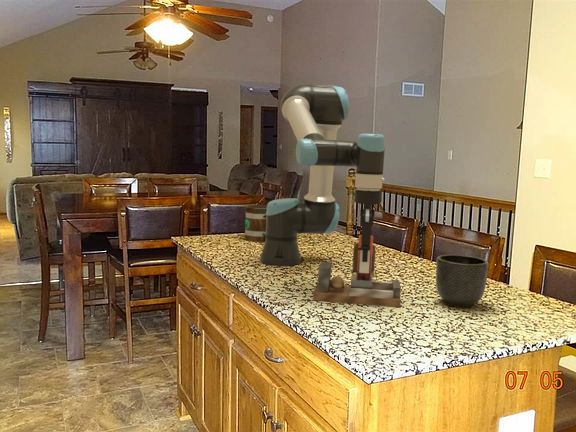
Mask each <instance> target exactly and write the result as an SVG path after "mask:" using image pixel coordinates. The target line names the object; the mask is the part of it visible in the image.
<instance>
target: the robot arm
mask: <svg viewBox="0 0 576 432" xmlns="http://www.w3.org/2000/svg"><path fill="white" fill-rule="evenodd" d="M280 111H281V114H282V116H283V118H284V119H285V120H286V121H287V122H289V125H290V127H291V129H292V131H293V134H294V136H295V138H296V140H297V142H296V146H295V157H296V158H295V159H296V162H297V163H298V164H299V165H303V166H310V170H309V180H308V192H307V194H305V195H304V196H303V202H301V201H300V200H299V199H298V198H296V197H293V198H291V197H290V198H289V197H287V198H279V199H278V198H277V199H273V200H270V201H269V202H268V203H267V204H266V206H267V211H266V241H265V242H264V243H263V247H262V251H261V253H260V255H259V257H260V259H259V261H260V262H261V263H263V264H266V265H272V266H296V265H298V264H301V262H302V256H301V254H300V248H299V245H298V234H299V235H300V234H302V235H303V234H304V235H305V234H307V235H311V234H317V235H318V234H319V235H323V234H331V233H333V232H335V230H336V229H337V227H338V224H339V221H340V206H339V204H338V203H337V202H336V198H335V197H334V196H333V195H332V193H333V182H334V169H335V168H334V167H353V168H354V167H355V168H356V169H355V182H354V188H356V189H355V190H354V202H355V203H356V204H360V205H361V204H362V205H363V208H360V211H359V212H360V213H359V215H360V226H361V235H362V241H361V248H358V250H360V267H359V273H369V262H370V248H371V247H370V239H371V236H372V226H374V217H375V209H372V208H373V205H380V204H382V196H383V192H382V190H381V189H382V188H383V182H385V181H386V178H384V177H383V175H384V165H385V150H386V143H385V142H386V138H385V136H384V135H383V134H382V133H381V134H380V133H379V134H378V133H361V134H358V136H357V140H337V135H338V130H339V128H341V126H343V121H346V120H347V119H348V117H349V112H350V101H349V96H348V94H347V91H346V89H344V88H343V87H342V86H337V85H322V84H307V83H301V84H297V85H295V86H291V88H289V89H288V90H287V91H286V92H285V93H284V95H283V97H282V98H281V101H280Z"/></svg>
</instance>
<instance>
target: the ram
mask: <svg viewBox="0 0 576 432" xmlns="http://www.w3.org/2000/svg"><path fill="white" fill-rule="evenodd" d="M358 235H359V236H358V244H359V246H358V248H361V241H362V234H358ZM373 245H374V236H373V235H371V239H370V247H371V248H370V262H369V273H359V267H360V250H358V264H357V272H356V273H351V278H350V285H351V288H361V289H372V284H373V281H374V279H373V274H372V273H371V267H372V250H373Z"/></svg>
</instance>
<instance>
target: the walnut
mask: <svg viewBox="0 0 576 432" xmlns="http://www.w3.org/2000/svg"><path fill="white" fill-rule="evenodd" d="M330 285H331V287H332V288H333V289H341V288H342V287H343V286H344V285H345V280H344V278H343V277H341V276H340V275H335V276H333V277H331V281H330Z"/></svg>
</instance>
